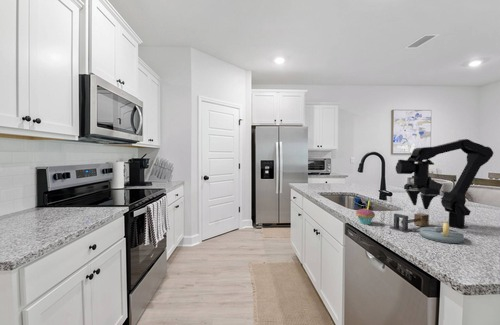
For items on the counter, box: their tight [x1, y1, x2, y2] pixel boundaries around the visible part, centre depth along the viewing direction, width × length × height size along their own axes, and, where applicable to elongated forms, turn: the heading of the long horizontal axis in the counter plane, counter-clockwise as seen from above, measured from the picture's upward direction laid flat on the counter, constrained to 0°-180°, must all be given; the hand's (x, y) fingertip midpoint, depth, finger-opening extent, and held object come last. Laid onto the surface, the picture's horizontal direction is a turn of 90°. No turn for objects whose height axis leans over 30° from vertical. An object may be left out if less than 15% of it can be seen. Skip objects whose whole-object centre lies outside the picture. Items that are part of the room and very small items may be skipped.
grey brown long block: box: [400, 212, 430, 227], centre depth 114 cm, size 16×4×5 cm, turn 115°
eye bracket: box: [389, 213, 413, 233], centre depth 111 cm, size 5×7×7 cm
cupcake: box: [355, 199, 376, 226], centre depth 121 cm, size 9×8×12 cm
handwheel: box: [419, 222, 465, 244], centre depth 100 cm, size 14×14×7 cm
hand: (420, 207), depth 117 cm, fingers open, 9 cm apart
